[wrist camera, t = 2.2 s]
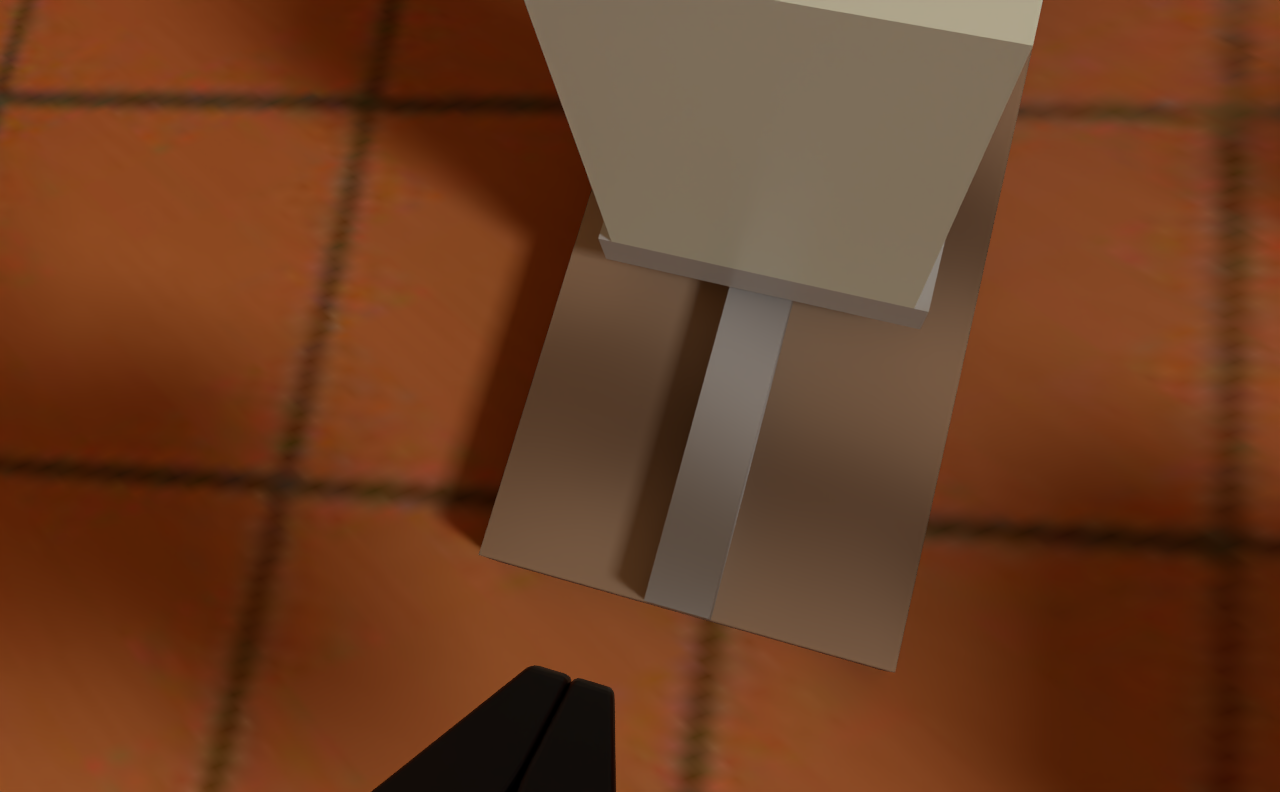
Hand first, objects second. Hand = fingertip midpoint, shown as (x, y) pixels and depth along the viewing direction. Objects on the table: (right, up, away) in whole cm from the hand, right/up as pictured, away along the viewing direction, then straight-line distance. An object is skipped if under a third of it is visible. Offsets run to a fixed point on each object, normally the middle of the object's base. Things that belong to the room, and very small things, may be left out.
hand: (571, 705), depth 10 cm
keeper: (+3, +6, +10) cm, 12 cm away
